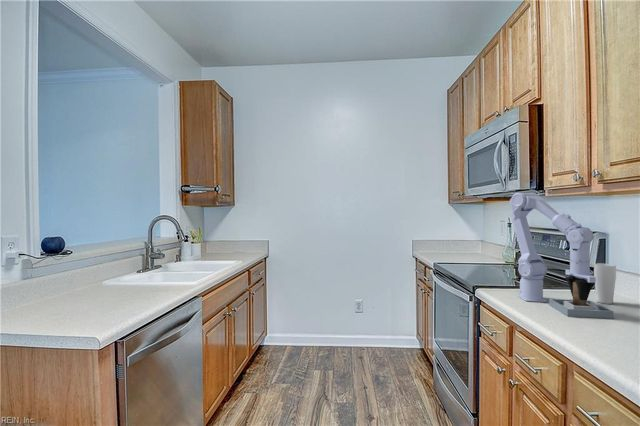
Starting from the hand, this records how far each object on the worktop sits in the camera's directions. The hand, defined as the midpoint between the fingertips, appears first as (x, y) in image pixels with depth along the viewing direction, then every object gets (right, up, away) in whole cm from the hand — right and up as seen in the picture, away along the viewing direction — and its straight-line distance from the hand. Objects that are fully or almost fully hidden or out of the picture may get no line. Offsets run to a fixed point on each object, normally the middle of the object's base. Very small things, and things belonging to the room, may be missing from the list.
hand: (579, 298), depth 127 cm
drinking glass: (+19, -5, +12) cm, 23 cm away
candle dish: (0, -5, 0) cm, 5 cm away
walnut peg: (0, -2, 0) cm, 2 cm away
